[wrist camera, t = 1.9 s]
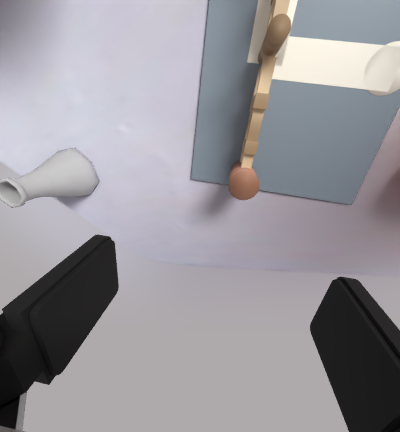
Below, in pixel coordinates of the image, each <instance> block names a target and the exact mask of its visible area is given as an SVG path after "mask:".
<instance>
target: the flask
mask: <svg viewBox="0 0 400 432" xmlns="http://www.w3.org/2000/svg"><path fill="white" fill-rule="evenodd" d="M98 182H99V179H98V177H97V174H96V172H95V169H94V167H93V164H92V162H91V161H90V160H89V159H88V158H86V157H85V156H84V155H83V154H82V153H81V152H79V151H78V150H77V149H76V148H70V149H66V150H62V151H58V152H57V153H55V154H54V155H53V156H51V157H50V158H49V159H48V160H47V161H45V162H44V163H43V164H41V165H40V166H39V167H37V168H36V169H35V170H33V171H32V172H30V173H28V174H26V175H24V176H22V177H19V178H17V179H12V178H6V179H1V180H0V199H1V201H3V202H4V203H6V204H7V205H8V206H10V207H11V208H13V207H19V206H23V205H24V204H25V202H26V201H28V200H31V199H34V198H38V197H77V196H83V195H89V194H91V193H92V192H93V190H94V189H95V187H96V186H97V184H98Z"/></svg>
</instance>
